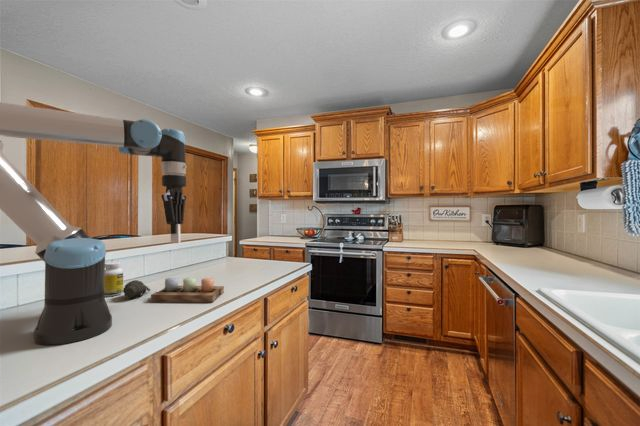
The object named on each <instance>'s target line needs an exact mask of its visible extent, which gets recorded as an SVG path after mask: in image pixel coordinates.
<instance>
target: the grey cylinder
mask: <svg viewBox="0 0 640 426" xmlns="http://www.w3.org/2000/svg"><path fill="white" fill-rule="evenodd" d="M178 286H179V278H178V277H168V278H165V279H164V288H165V291H167V292H172V291H176V290H178Z"/></svg>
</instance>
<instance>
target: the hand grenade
mask: <svg viewBox="0 0 640 426" xmlns="http://www.w3.org/2000/svg"><path fill="white" fill-rule="evenodd" d="M146 292H151V289H150V288H149V287H148V285H145V284H144V282H142V281H141V280H138V279H137V280H135V279H134V280H131V281H129V282H127V283H126V284H125V285H124V287H123V293H122V294H124V297H126V298H129V299H135V298H141V297H142V296H144V294H145V293H146Z"/></svg>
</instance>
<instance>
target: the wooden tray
mask: <svg viewBox="0 0 640 426" xmlns="http://www.w3.org/2000/svg"><path fill="white" fill-rule="evenodd" d="M224 288H225V287H224V285H214V290H213V291H211V292H202V291H201V285H196V290H195V291H192V292H184V291H183V285H178V290H176V291H172V292H167V291H165V287H164V288H162V289H161V290H159V291H155V292H154V293H152V294H150V302H151V303H193V304H194V303H197V304H198V303H204V304H205V303H206V304H207V303H210V304H211V303H212V304H213V303H214V302H216V301H217V300H218V299H219V297H221V296H222V295H223V294H224V293H225V292H224Z"/></svg>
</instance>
